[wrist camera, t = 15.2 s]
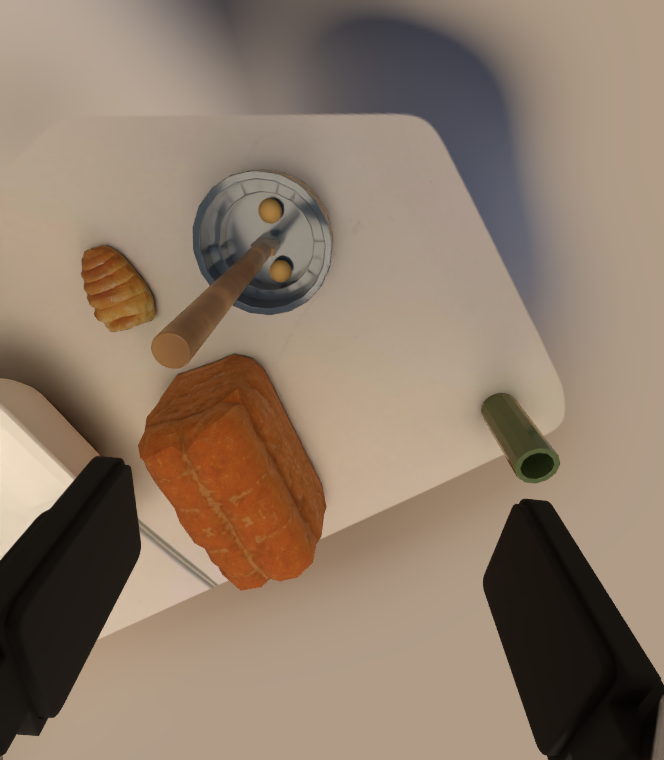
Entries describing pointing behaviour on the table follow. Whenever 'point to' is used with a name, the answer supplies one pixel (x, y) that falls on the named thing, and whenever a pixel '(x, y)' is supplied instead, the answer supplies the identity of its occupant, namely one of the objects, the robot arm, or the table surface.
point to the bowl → (244, 226)
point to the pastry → (115, 289)
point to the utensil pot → (520, 439)
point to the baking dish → (33, 458)
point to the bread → (236, 472)
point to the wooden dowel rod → (209, 308)
